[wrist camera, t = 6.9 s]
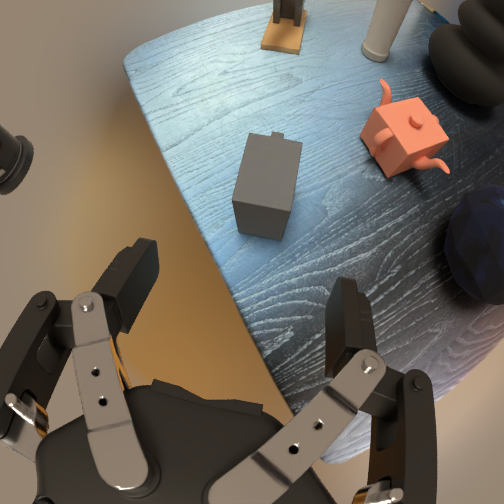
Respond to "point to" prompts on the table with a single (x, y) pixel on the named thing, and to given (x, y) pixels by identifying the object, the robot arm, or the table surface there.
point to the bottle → (384, 28)
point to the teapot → (403, 135)
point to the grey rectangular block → (266, 185)
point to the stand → (285, 26)
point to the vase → (472, 53)
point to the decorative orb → (478, 244)
